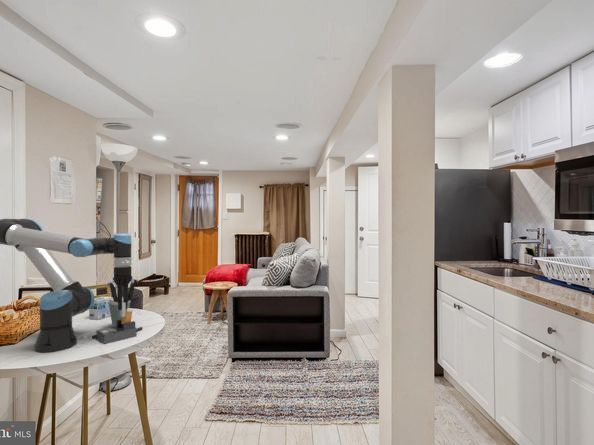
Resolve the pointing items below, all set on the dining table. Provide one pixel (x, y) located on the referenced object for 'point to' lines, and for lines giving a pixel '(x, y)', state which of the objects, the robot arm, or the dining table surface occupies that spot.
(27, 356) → the dining table surface
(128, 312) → the lever
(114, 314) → the disposable coffee cup
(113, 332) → the labelled grey housing
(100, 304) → the light bulb box
